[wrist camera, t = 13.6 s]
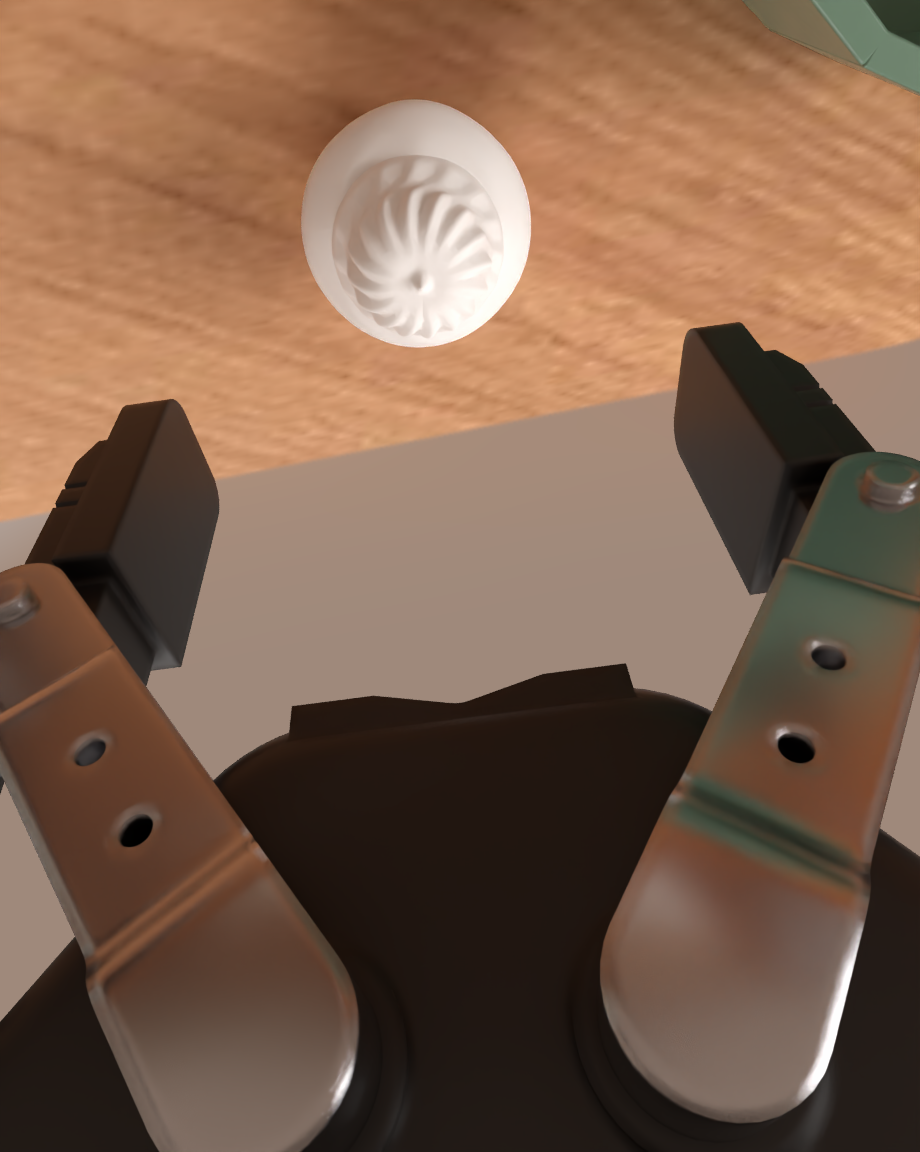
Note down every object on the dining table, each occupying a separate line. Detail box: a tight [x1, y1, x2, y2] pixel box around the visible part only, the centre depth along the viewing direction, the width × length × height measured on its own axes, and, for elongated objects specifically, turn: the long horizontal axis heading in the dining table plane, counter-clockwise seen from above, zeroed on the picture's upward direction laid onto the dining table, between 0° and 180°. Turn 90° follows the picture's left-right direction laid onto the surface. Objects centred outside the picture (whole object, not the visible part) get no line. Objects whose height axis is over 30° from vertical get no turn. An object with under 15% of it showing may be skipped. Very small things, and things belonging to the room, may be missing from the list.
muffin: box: [301, 99, 531, 347], centre depth 19 cm, size 6×6×7 cm
